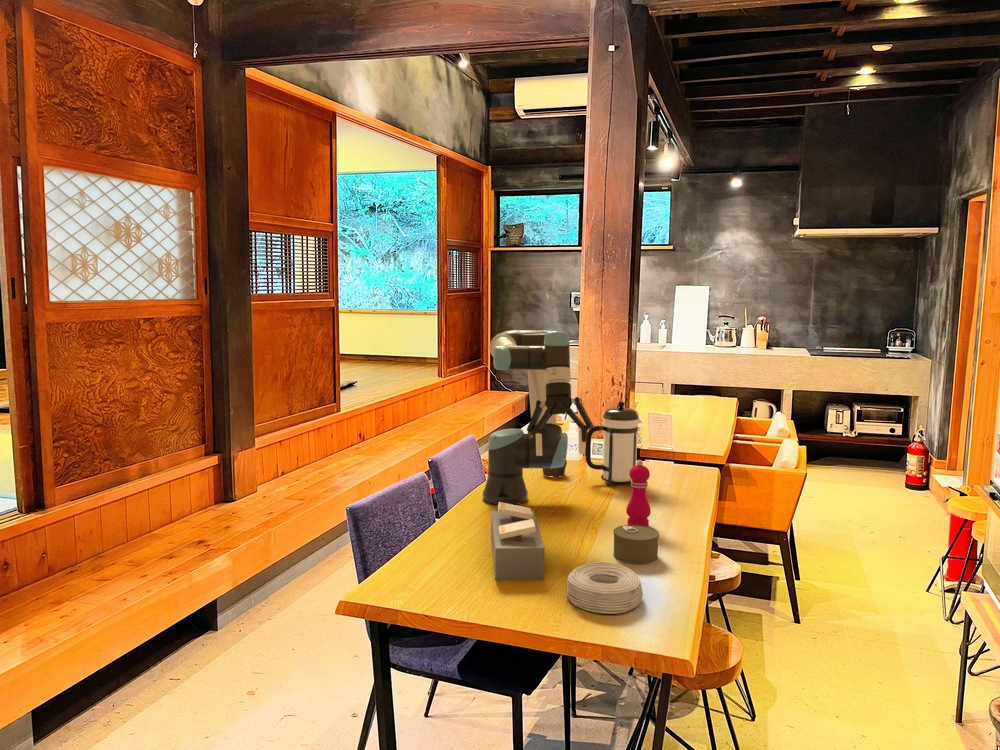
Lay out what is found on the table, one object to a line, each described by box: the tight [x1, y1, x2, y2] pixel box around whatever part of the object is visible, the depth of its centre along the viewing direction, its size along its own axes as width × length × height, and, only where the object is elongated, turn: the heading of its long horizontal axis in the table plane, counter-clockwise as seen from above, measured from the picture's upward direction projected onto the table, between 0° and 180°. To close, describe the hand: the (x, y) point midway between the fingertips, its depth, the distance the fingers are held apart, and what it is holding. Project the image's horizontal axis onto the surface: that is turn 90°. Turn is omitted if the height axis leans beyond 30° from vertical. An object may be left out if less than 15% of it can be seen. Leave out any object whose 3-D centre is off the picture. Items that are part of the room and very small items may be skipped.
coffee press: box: [585, 400, 643, 487], centre depth 270 cm, size 17×16×30 cm
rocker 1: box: [497, 502, 532, 519], centre depth 204 cm, size 6×9×2 cm, turn 93°
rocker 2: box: [499, 519, 536, 539], centre depth 189 cm, size 6×9×2 cm, turn 93°
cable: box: [566, 561, 644, 615], centre depth 172 cm, size 18×18×6 cm
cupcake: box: [541, 460, 568, 478], centre depth 282 cm, size 10×10×10 cm
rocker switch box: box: [490, 510, 546, 581], centre depth 200 cm, size 36×12×9 cm, turn 3°
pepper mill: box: [625, 460, 652, 527], centre depth 223 cm, size 7×7×20 cm
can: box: [612, 524, 660, 566], centre depth 198 cm, size 12×12×7 cm
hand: (560, 454), depth 218 cm, fingers open, 13 cm apart
